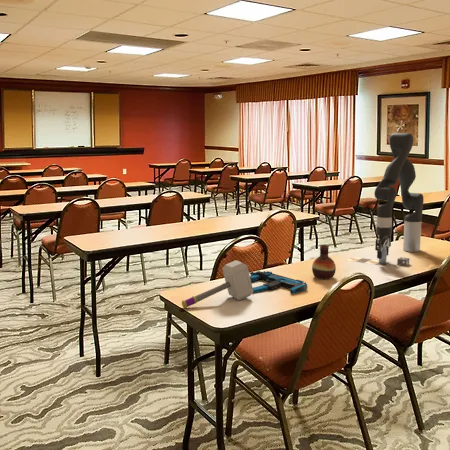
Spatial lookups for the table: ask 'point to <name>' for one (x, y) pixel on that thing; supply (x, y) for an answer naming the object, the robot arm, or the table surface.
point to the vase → (323, 265)
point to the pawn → (383, 256)
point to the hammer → (228, 284)
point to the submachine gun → (277, 282)
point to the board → (363, 260)
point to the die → (403, 261)
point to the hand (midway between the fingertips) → (382, 256)
